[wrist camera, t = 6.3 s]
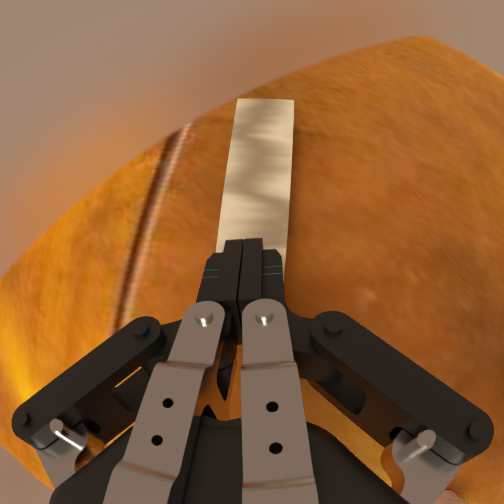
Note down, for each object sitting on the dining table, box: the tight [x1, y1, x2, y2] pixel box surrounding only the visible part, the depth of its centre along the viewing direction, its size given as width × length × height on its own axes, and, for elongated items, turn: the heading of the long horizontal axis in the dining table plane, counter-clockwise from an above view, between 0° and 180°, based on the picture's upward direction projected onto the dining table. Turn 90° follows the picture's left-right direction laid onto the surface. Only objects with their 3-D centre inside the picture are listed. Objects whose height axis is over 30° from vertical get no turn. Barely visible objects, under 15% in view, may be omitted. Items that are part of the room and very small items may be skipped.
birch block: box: [216, 99, 294, 281], centre depth 24 cm, size 5×5×18 cm
